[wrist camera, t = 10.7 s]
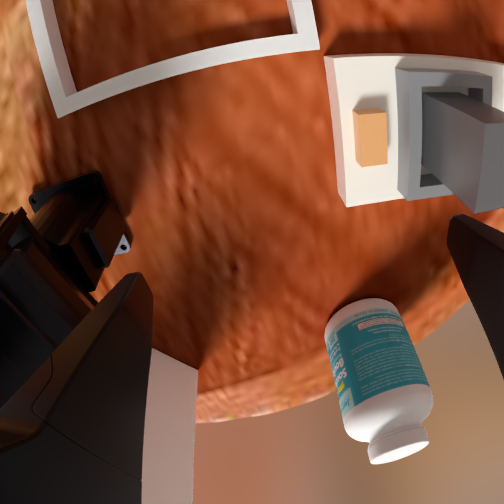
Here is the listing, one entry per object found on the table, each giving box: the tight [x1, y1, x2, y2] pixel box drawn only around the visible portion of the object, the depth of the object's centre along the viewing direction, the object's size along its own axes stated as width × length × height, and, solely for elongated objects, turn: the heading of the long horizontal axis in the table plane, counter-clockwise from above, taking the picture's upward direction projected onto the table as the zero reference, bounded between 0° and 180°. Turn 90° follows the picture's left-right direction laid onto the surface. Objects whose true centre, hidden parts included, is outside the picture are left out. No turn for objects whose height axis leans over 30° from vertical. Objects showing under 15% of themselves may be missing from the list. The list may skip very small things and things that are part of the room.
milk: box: [141, 348, 198, 504], centre depth 24 cm, size 6×6×22 cm
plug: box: [421, 92, 504, 214], centre depth 14 cm, size 3×4×6 cm, turn 11°
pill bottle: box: [325, 298, 434, 464], centre depth 24 cm, size 8×7×14 cm
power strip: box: [324, 53, 504, 207], centre depth 16 cm, size 21×9×4 cm, turn 101°
